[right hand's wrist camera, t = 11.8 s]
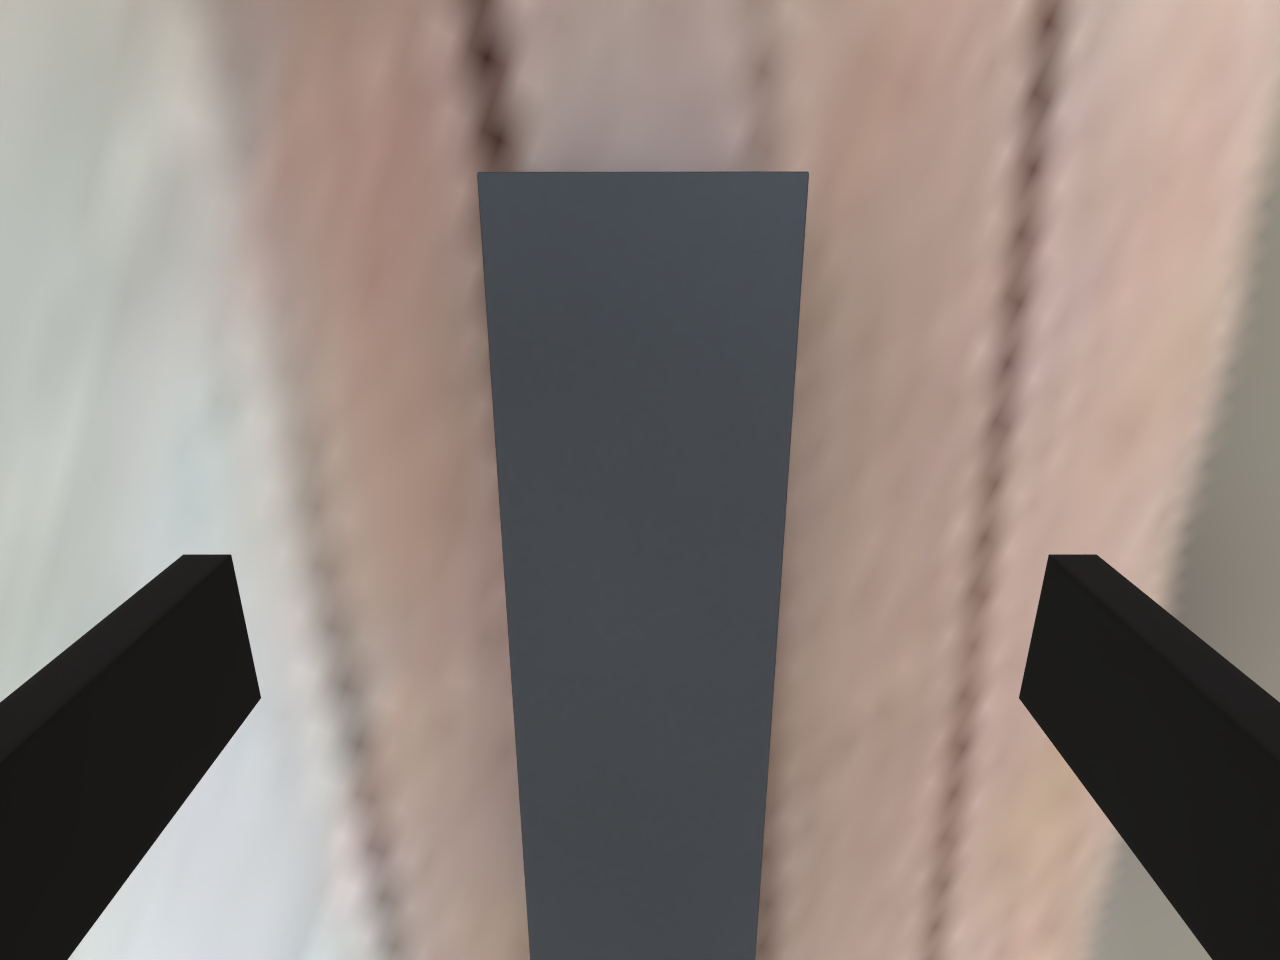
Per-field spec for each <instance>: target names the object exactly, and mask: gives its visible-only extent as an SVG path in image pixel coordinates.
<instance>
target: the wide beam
mask: <svg viewBox="0 0 1280 960" xmlns="http://www.w3.org/2000/svg"><path fill="white" fill-rule="evenodd" d="M477 178H478V193H479V208H480V222H481V237H482V252H483V267H484V282H485V296H486V311H487V326H488V341H489V355H490V370H491V385H492V400H493V415H494V429H495V444H496V459H497V474H498V489H499V503H500V518H501V533H502V548H503V562H504V577H505V592H506V607H507V622H508V636H509V651H510V666H511V681H512V695H513V710H514V725H515V740H516V755H517V769H518V784H519V799H520V814H521V829H522V843H523V858H524V873H525V888H526V902H527V917H528V932H529V947H530V960H755V954H756V940H757V925H758V911H759V896H760V881H761V867H762V852H763V837H764V823H765V808H766V794H767V779H768V764H769V750H770V735H771V720H772V706H773V691H774V677H775V662H776V647H777V633H778V618H779V603H780V589H781V574H782V560H783V545H784V530H785V516H786V501H787V486H788V472H789V457H790V442H791V428H792V413H793V399H794V384H795V369H796V355H797V340H798V325H799V311H800V296H801V282H802V267H803V252H804V238H805V223H806V208H807V194H808V179H809V173H808V172H478V173H477Z"/></svg>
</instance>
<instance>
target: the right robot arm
mask: <svg viewBox="0 0 1280 960" xmlns="http://www.w3.org/2000/svg"><path fill="white" fill-rule="evenodd" d="M260 699H261V696H260V691H259V686H258V681H257V676H256V672H255V667H254V662H253V657H252V652H251V648H250V643H249V638H248V633H247V628H246V624H245V619H244V614H243V609H242V604H241V600H240V595H239V590H238V585H237V580H236V576H235V571H234V566H233V561H232V556H231V555H182V556H181V557H180V558H179V559H177V560H176V561H175V562H174V563H172V564H171V565H170V566H169V567H168V568H166V569H165V570H164V571H163V572H161V573H160V574H159V575H158V576H156V577H155V578H154V579H153V580H151V581H150V582H149V583H148V584H146V585H145V586H144V587H143V588H142V589H140V590H139V591H138V592H137V593H135V594H134V595H133V596H132V597H130V598H129V599H128V600H127V601H125V602H124V603H123V604H122V605H120V606H119V607H118V608H117V609H116V610H114V611H113V612H112V613H111V614H109V615H108V616H107V617H106V618H104V619H103V620H102V621H101V622H99V623H98V624H97V625H96V626H94V627H93V628H92V629H91V630H90V631H88V632H87V633H86V634H85V635H83V636H82V637H81V638H80V639H78V640H77V641H76V642H75V643H73V644H72V645H71V646H70V647H68V648H67V649H66V650H65V651H64V652H62V653H61V654H60V655H59V656H57V657H56V658H55V659H54V660H52V661H51V662H50V663H49V664H47V665H46V666H45V667H44V668H42V669H41V670H40V671H39V672H38V673H36V674H35V675H34V676H33V677H31V678H30V679H29V680H28V681H26V682H25V683H24V684H23V685H21V686H20V687H19V688H18V689H16V690H15V691H14V692H13V693H12V694H10V695H9V696H8V697H7V698H5V699H4V700H3V701H2V702H0V960H68V958H69V957H70V956H71V954H72V953H73V951H74V950H75V949H76V947H77V946H78V945H79V943H80V942H81V941H82V939H83V938H84V937H85V935H86V934H87V933H88V931H89V930H90V928H91V927H92V926H93V924H94V923H95V922H96V920H97V919H98V918H99V916H100V915H101V914H102V912H103V911H104V910H105V908H106V907H107V906H108V904H109V903H110V901H111V900H112V899H113V897H114V896H115V895H116V893H117V892H118V891H119V889H120V888H121V887H122V885H123V884H124V883H125V881H126V880H127V878H128V877H129V876H130V874H131V873H132V872H133V870H134V869H135V868H136V866H137V865H138V864H139V862H140V861H141V860H142V858H143V857H144V855H145V854H146V853H147V851H148V850H149V849H150V847H151V846H152V845H153V843H154V842H155V841H156V839H157V838H158V837H159V835H160V834H161V833H162V831H163V830H164V828H165V827H166V826H167V824H168V823H169V822H170V820H171V819H172V818H173V816H174V815H175V814H176V812H177V811H178V810H179V808H180V807H181V805H182V804H183V803H184V801H185V800H186V799H187V797H188V796H189V795H190V793H191V792H192V791H193V789H194V788H195V787H196V785H197V784H198V783H199V781H200V780H201V778H202V777H203V776H204V774H205V773H206V772H207V770H208V769H209V768H210V766H211V765H212V764H213V762H214V761H215V760H216V758H217V757H218V755H219V754H220V753H221V751H222V750H223V749H224V747H225V746H226V745H227V743H228V742H229V741H230V739H231V738H232V737H233V735H234V734H235V732H236V731H237V730H238V728H239V727H240V726H241V724H242V723H243V722H244V720H245V719H246V718H247V716H248V715H249V714H250V712H251V711H252V710H253V708H254V707H255V705H256V704H257V703H258V701H259V700H260ZM1019 699H1020V700H1021V701H1022V703H1023V704H1024V705H1025V707H1026V708H1027V710H1028V711H1029V712H1030V714H1031V715H1032V716H1033V718H1034V719H1035V720H1036V722H1037V723H1038V724H1039V726H1040V727H1041V728H1042V730H1043V731H1044V732H1045V734H1046V735H1047V737H1048V738H1049V739H1050V741H1051V742H1052V743H1053V745H1054V746H1055V747H1056V749H1057V750H1058V751H1059V753H1060V754H1061V755H1062V757H1063V758H1064V760H1065V761H1066V762H1067V764H1068V765H1069V766H1070V768H1071V769H1072V770H1073V772H1074V773H1075V774H1076V776H1077V777H1078V778H1079V780H1080V781H1081V783H1082V784H1083V785H1084V787H1085V788H1086V789H1087V791H1088V792H1089V793H1090V795H1091V796H1092V797H1093V799H1094V800H1095V801H1096V803H1097V804H1098V805H1099V807H1100V808H1101V810H1102V811H1103V812H1104V814H1105V815H1106V816H1107V818H1108V819H1109V820H1110V822H1111V823H1112V824H1113V826H1114V827H1115V828H1116V830H1117V831H1118V833H1119V834H1120V835H1121V837H1122V838H1123V839H1124V841H1125V842H1126V843H1127V845H1128V846H1129V847H1130V849H1131V850H1132V851H1133V853H1134V854H1135V855H1136V857H1137V858H1138V860H1139V861H1140V862H1141V864H1142V865H1143V866H1144V868H1145V869H1146V870H1147V872H1148V873H1149V874H1150V876H1151V877H1152V878H1153V880H1154V881H1155V882H1156V884H1157V885H1158V887H1159V888H1160V889H1161V891H1162V892H1163V893H1164V895H1165V896H1166V897H1167V899H1168V900H1169V901H1170V903H1171V904H1172V905H1173V907H1174V908H1175V910H1176V911H1177V912H1178V914H1179V915H1180V916H1181V918H1182V919H1183V920H1184V922H1185V923H1186V924H1187V926H1188V927H1189V928H1190V930H1191V931H1192V932H1193V934H1194V935H1195V937H1196V938H1197V939H1198V941H1199V942H1200V943H1201V945H1202V946H1203V947H1204V949H1205V950H1206V951H1207V953H1208V954H1209V956H1210V957H1211V958H1212V960H1280V702H1278V701H1277V700H1276V699H1275V698H1273V697H1272V696H1271V695H1270V694H1268V693H1267V692H1266V691H1265V690H1263V689H1262V688H1261V687H1260V686H1259V685H1257V684H1256V683H1255V682H1254V681H1252V680H1251V679H1250V678H1249V677H1247V676H1246V675H1245V674H1244V673H1242V672H1241V671H1240V670H1239V669H1237V668H1236V667H1235V666H1234V665H1233V664H1231V663H1230V662H1229V661H1228V660H1226V659H1225V658H1224V657H1223V656H1221V655H1220V654H1219V653H1218V652H1216V651H1215V650H1214V649H1213V648H1212V647H1210V646H1209V645H1208V644H1207V643H1205V642H1204V641H1203V640H1202V639H1200V638H1199V637H1198V636H1197V635H1195V634H1194V633H1193V632H1192V631H1190V630H1189V629H1188V628H1187V627H1186V626H1184V625H1183V624H1182V623H1181V622H1179V621H1178V620H1177V619H1176V618H1174V617H1173V616H1172V615H1171V614H1169V613H1168V612H1167V611H1166V610H1164V609H1163V608H1162V607H1161V606H1160V605H1158V604H1157V603H1156V602H1155V601H1153V600H1152V599H1151V598H1150V597H1148V596H1147V595H1146V594H1145V593H1143V592H1142V591H1141V590H1140V589H1138V588H1137V587H1136V586H1135V585H1134V584H1132V583H1131V582H1130V581H1129V580H1127V579H1126V578H1125V577H1124V576H1122V575H1121V574H1120V573H1119V572H1117V571H1116V570H1115V569H1114V568H1112V567H1111V566H1110V565H1109V564H1108V563H1106V562H1105V561H1104V560H1103V559H1101V558H1100V557H1099V556H1098V555H1049V556H1048V561H1047V566H1046V571H1045V576H1044V580H1043V585H1042V590H1041V595H1040V600H1039V604H1038V609H1037V614H1036V619H1035V624H1034V628H1033V633H1032V638H1031V643H1030V648H1029V652H1028V657H1027V662H1026V667H1025V672H1024V676H1023V681H1022V686H1021V691H1020V696H1019Z"/></svg>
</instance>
